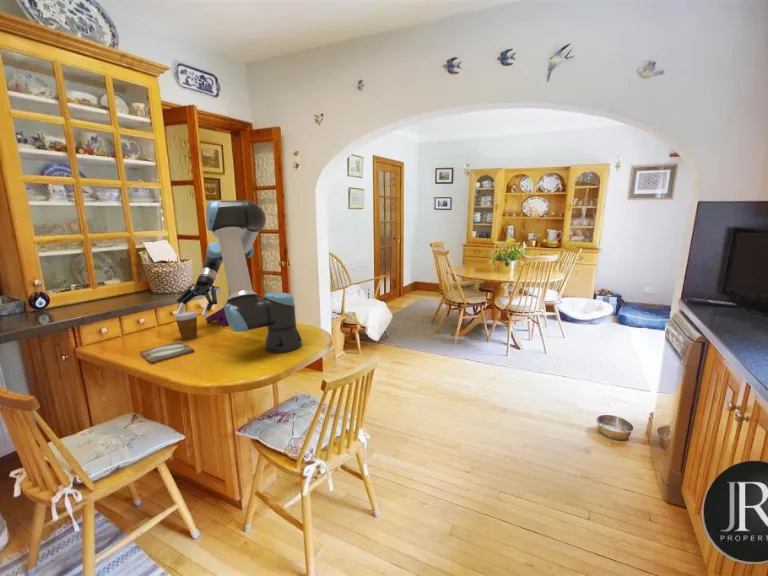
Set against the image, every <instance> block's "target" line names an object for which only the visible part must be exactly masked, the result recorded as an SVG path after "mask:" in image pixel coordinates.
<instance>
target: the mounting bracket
mask: <svg viewBox="0 0 768 576" xmlns="http://www.w3.org/2000/svg"><path fill="white" fill-rule="evenodd" d="M204 318H205V317H204ZM204 320H206V323H210V322H212V321H216V322H217V324H218V325H219V326H220V325H221V327H226V326H229V323H228V321H227V318H226V315H225V310H224V307H222V308H220V309H219V310H217V311H215V312H214V313H212V314H210V315H207V317H206V318H205V319H204Z"/></svg>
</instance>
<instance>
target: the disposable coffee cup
mask: <svg viewBox="0 0 768 576" xmlns="http://www.w3.org/2000/svg"><path fill="white" fill-rule="evenodd" d="M176 313H177V312H176ZM176 313H175V315H174V319H175V321H176V325H177V327H178V330H179V334H180V337H181V339H182V340H181V341H192V340H194V339H197V338H198V321H197V320H198V313H197V311H195V310H186V311H183V312H180V313H177V314H176Z"/></svg>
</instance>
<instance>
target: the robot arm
mask: <svg viewBox="0 0 768 576" xmlns="http://www.w3.org/2000/svg"><path fill="white" fill-rule="evenodd" d="M205 213H206V214H205V223H206V224H205V225H206V228H207V229H206V230H207V231H209V232H212V235H213V236H214V237H215V238H216V239H218V242H217V241H213V242H210V243H209V244H208V245H207V248H206V254H205V259H204V263H203V266H202V268H201V270H200V272H199V275H198V277H197V279H196V282H195V283H196V284H195V286H192V285H189V286H188V288H187V289H186V290H184V292H183V293H182V294H181V296H179V297H178V299H176V302H177V303H179V304H178V307H177V311H176V313H175V315H176V314H177V313H180V312H185V311H184V310H185V308H186V304H187V303H188V302H190V301H191V300H193V299H194V298H195V297H197V296H198V297H199V296H200V297H201V296H204V297H205V298H206V301H207V302H206V303H205V306H204V308H203V311H202V313H201V316H202V317H203V318H207V317H208V316H209V315H208V314H209V312H210V311H211V309H212V307H213V306H214V305H217V304H218V298H217V287H215V285H214V283H215V280H216V278H217V275H218V273H219V270H220V268H221V266H222V264H223V268H224V272H225V278H226V282H227V287H228V291H229V297H227V299H226V302H227V303H226V304H225V305H224V306H223V308H224V310H225V315H226V318H227V321H228V323H229V325H228V326H229V327H230V328H231V331H233V332H235V333H241V332H248V331H252V330H256V329H261V328H266V327H267V333H266V339H265V343H264V347H265V350H266V351H267V352H268V353H275V354H278V353H289V352H292V351H295V350H297V349H300V347H302V345H303V342H302V340H303V339H302V336H301V335H300V333H299V331H298V328H297V323H296V322H297V319H296V318H297V317H296V307H295V306H296V304H295V300H294V295H292V294H290V293H286V292H275V291H274V292H266V293H265V294H264V295H263V297H262V298H259V295H258V293H257V292H256V291H255V292H254V290H253V285H252V281H251V277H250V273H249V268H248V264H247V259H248V258H252V257H254V255H255V254H254V252H255V250H254V246H253V245H254V243H255V240H256V239H257V236H258V235H259V232H261V231H262V230H263V229H264V228H265V225H266V221H267V220H266V219H267V217H266V213H265V212H264V209H262V207H261V206H260V205H259V204H258V203H255V202H253V201H251V200H246V199H244V200H243V199H241V200H220V199H219V200H212V201H211V200H210V201H209V202H207V205H206V211H205ZM209 292H210V294H211V296H210V294H209Z"/></svg>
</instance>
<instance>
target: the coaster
mask: <svg viewBox="0 0 768 576" xmlns="http://www.w3.org/2000/svg"><path fill="white" fill-rule="evenodd" d="M193 352H194V353H195V349H194V348H192V347H191V346H189V345H188V344H187V343H185V342H184V341H183V340H179V341H175V342H172V343H168V344H165V345H160V346H157V347H152V348H149V349H145V350H141V351H139V354H140V356H142V357H143V358H144V359H145V360H146V361H147V362H148V361H149V362H150V363H151V364H150V363H149V362H148V363H149V364H150V365H154V364H153V363H155V364H157V362H158V363H161V361H162V362H165V361H168V359H169V360H171V359H175V357H176V358H178V357H183V356H186V355H190V354H192V353H193ZM194 353H193V354H194ZM182 355H183V356H182ZM164 360H165V361H164Z"/></svg>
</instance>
